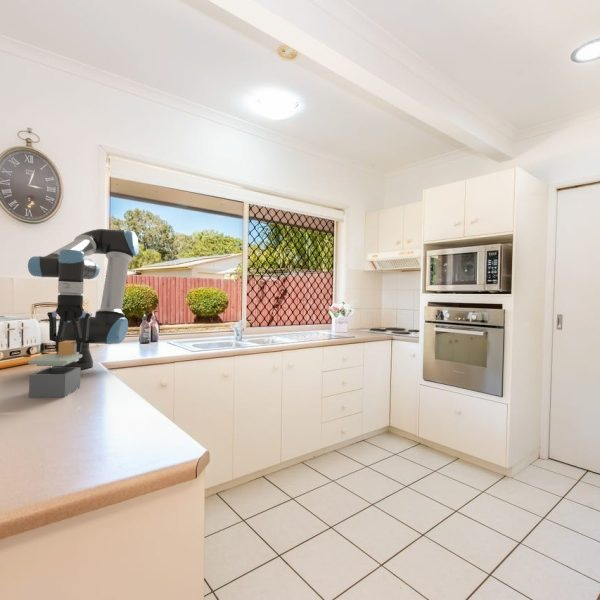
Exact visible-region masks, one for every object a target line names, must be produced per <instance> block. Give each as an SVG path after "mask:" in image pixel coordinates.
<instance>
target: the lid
mask: <svg viewBox="0 0 600 600" xmlns="http://www.w3.org/2000/svg"><path fill="white" fill-rule="evenodd" d="M74 343H76V341H62V342H59V354H56V353H48V354H47V353H46V354H44V355H41V356H38V357H35V358H31V359H29V360H28V361H27V362H28V365H36V367H52V366H64V365H67V364H69V363H71V362H74V361H75V360H77V359H79V358H81V357H82V354H73V353H74Z"/></svg>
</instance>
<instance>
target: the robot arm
mask: <svg viewBox="0 0 600 600" xmlns="http://www.w3.org/2000/svg"><path fill="white" fill-rule="evenodd" d="M139 245H140V244H139V239H138V236H137V234H136V233H135V231H132V230H126V229H109V228H107V229H105V228H97V229H92V230H87V231H85V232H83V233H81V234H79V235H77V236H76V237H75V238H74V239H73V241H71V242H69V243H67V244H66V245H64V246H62V247H60V248H58V249H56V250H55V251H53V252H51V253H49V254H47V255H45V256H41V255H38V256H37V255H36V256H31V257H30V258H29V259H28V261H27V269H28V272H29V274H30V275H31V276H33V277H38V278H58V282H57V283H58V285H57V293H58V295H57V307H56V309H55V310H54V311H49V312H47V314H46V315H47V317H48V319H49V321H48V323H49V333H48V335H49V341H50V342H51V341H52V342H55V352H56V353H55V354H59V342H62V341H76V343H74V353H73V354H82V357H81V358H79V359H77V360H75V361H74V362H71V363H69V364H67V365H64V366H51V367H81V370H85V369H84V368H87V369H90V368H89V367H91V368H93V367H92V366H94V360H93V357H92V354H91V351H90V344H100V345H101V344H103V345H107V344H108V345H115V344H120V343H122V342H124V340H125V338H126V336H127V334H128V330H129V320H128V319H127V318H126V316H125V313H124V312H123V305H124V298H125V291H126V285H127V278H128V277H127V276H128V271H129V263H131V262H132V261H133V260H134V257H137V256H138V255H139V252H140V246H139ZM94 254H95V255H97V254H100V255H105V258H106V259H108V260H107V267H106V272H105V279H104V284H103V289H102V296H101V297H102V298H101V303H100V308H99V309H97V310H96V311H95V314H94V316H92V315H93V314H92V313H91V312H86V311H85V309H84V307H83V306H84V303H83V302H84V296H83V295H82V294H84V280H91V279H92V280H93V279H96V277H98V275H99V274H100V269H101V268H100V266H99V264H98V263H97V262H96V261H94V260H92V259H90V258H86V256H87V257H88V256H92V255H94ZM57 317H59V318H58V325H57ZM57 327H58V328H57Z"/></svg>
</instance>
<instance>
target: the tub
mask: <svg viewBox="0 0 600 600" xmlns="http://www.w3.org/2000/svg"><path fill="white" fill-rule="evenodd" d="M81 370H82V369H81V367H52V366H47V367H45V368H43V369H40V370H38V371H36V372H33V373H31V374H29V379H28V398H29V397H38V398H65V396H66V397H67V396H69V395H70V394H69V393H71V392H72V393H74V392H75V391H77V390H78V389H80V388H81ZM79 387H80V388H79ZM77 388H78V389H77ZM76 389H77V390H76ZM74 390H75V391H74ZM73 391H74V392H73ZM72 393H71V394H72ZM68 394H69V395H68Z"/></svg>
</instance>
